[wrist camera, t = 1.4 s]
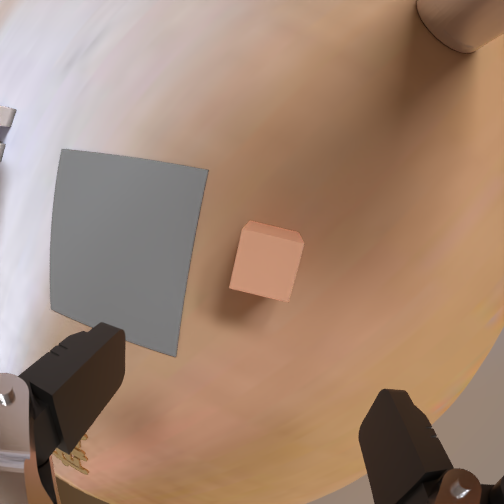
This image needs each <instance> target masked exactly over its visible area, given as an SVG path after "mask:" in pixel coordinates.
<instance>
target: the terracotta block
mask: <svg viewBox="0 0 504 504" xmlns="http://www.w3.org/2000/svg"><path fill="white" fill-rule="evenodd" d="M303 248H304V242H303V240H302V238H301V236H300V234H299V232H296V231H292V230H288V229H284V228H280V227H275V226H271V225H267V224H263V223H259V222H255V221H249V222H248V223H247V224H246V225H245V226H244V227H243V228H242V231H241V236H240V240H239V245H238V250H237V254H236V259H235V263H234V268H233V272H232V277H231V282H230V286H229V288H230V289H234V290H238V291H242V292H247V293H251V294H255V295H259V296H263V297H267V298H272V299H276V300H280V301H285V302H289V299H290V295H291V292H292V288H293V285H294V281H295V278H296V274H297V270H298V267H299V263H300V259H301V256H302V252H303Z"/></svg>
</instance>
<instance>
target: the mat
mask: <svg viewBox="0 0 504 504" xmlns="http://www.w3.org/2000/svg"><path fill="white" fill-rule="evenodd" d="M208 171H209V170H205V169H200V168H194V167H189V166H183V165H178V164H172V163H166V162H160V161H154V160H147V159H141V158H134V157H127V156H120V155H112V154H104V153H96V152H88V151H78V150H69V149H61V155H60V160H59V166H58V172H57V179H56V186H55V194H54V202H53V212H52V224H51V241H50V302H51V310H54V311H56V312H58V313H60V314H62V315H64V316H67V317H69V318H71V319H73V320H76V321H78V322H80V323H83V324H85V325H88V326H90V327H92V328H94V327H95V326H96V325H97V324H99V323H100V322H104V323H106V324H109V325H112V326H114V327H117V328H120V329H123V330H124V331H125V336H126V339H125V340H126V341H129V342H131V343H134V344H137V345H140V346H143V347H146V348H149V349H152V350H155V351H158V352H161V353H164V354H167V355H170V356H173V357H176V354H177V346H178V339H179V331H180V324H181V317H182V311H183V304H184V297H185V291H186V285H187V279H188V273H189V267H190V261H191V256H192V250H193V245H194V239H195V234H196V229H197V224H198V218H199V213H200V208H201V204H202V199H203V194H204V189H205V184H206V180H207V175H208Z"/></svg>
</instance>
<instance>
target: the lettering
mask: <svg viewBox="0 0 504 504" xmlns="http://www.w3.org/2000/svg"><path fill="white" fill-rule="evenodd" d="M87 438H88V436H87V435H86V434H84V436H83V437H82V438H81V440H86V439H87ZM80 447H81V444H80V441H79V442H78V444H77V445H76V446H75V448H74V449H73V451H72V452H71V453H70V455H68V454H67V453H65V452H63V451H61V450H60V449H58V448H56V451H57V452H56V451H54V452H53V453H52V454H53V455H55V456H56V457H57V458H59V459H60V460H62V463H63V464H64V465H65V466H69V465H70V466H71V467H73V468H75V469H76V470H78V471H80V472H81V473H84V474H88V473H89V471H88V470H87V469H85V468H83V467H82V466H81V463H80V459H81V460H83V461H87V460H88V458H87V457H86V456H85V452H84V451H83V450H80V449H78V448H80ZM63 453H64V454H65V457H66V458H65V457H64V454H63ZM72 454H73V455H74V457H73V458H72Z"/></svg>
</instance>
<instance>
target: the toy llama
mask: <svg viewBox="0 0 504 504" xmlns="http://www.w3.org/2000/svg"><path fill="white" fill-rule="evenodd" d="M15 113H16V109H12V108H9V107H4V106H0V126H6V127H11V125H12V122H13V119H14V116H15ZM5 145H6V144H4V143H1V142H0V162H1V161H2V157H3V153H4V149H5Z"/></svg>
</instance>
